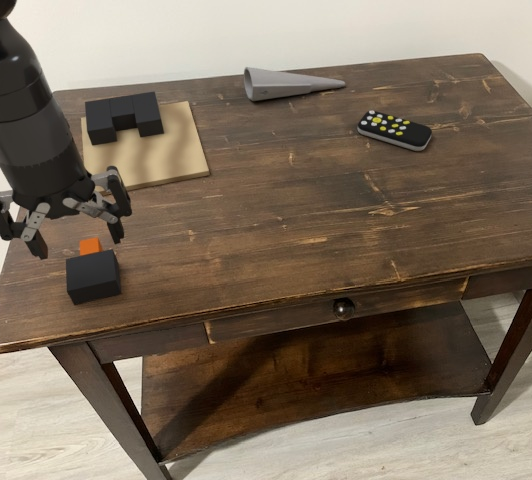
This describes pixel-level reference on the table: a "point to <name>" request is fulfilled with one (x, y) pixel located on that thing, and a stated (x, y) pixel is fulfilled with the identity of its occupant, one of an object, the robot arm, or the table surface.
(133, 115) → the dark grey u-shaped block
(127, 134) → the board
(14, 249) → the table surface
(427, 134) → the remote control
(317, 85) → the long tapered cone
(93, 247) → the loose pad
